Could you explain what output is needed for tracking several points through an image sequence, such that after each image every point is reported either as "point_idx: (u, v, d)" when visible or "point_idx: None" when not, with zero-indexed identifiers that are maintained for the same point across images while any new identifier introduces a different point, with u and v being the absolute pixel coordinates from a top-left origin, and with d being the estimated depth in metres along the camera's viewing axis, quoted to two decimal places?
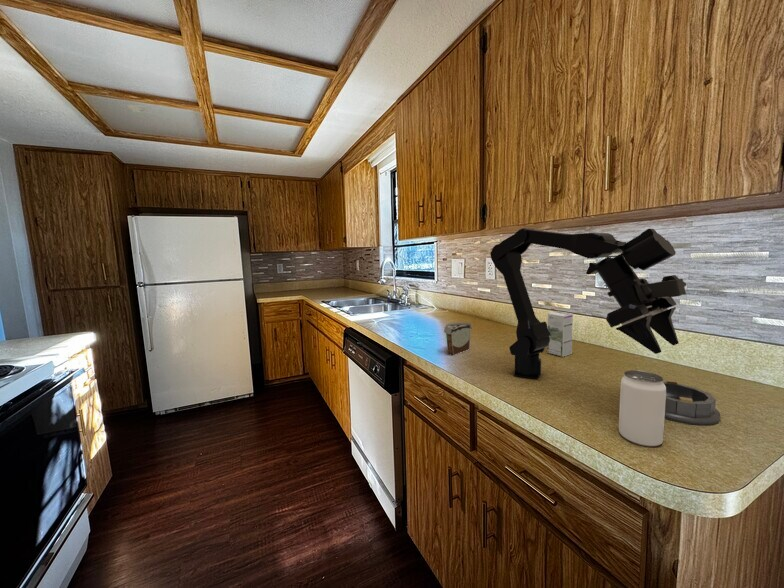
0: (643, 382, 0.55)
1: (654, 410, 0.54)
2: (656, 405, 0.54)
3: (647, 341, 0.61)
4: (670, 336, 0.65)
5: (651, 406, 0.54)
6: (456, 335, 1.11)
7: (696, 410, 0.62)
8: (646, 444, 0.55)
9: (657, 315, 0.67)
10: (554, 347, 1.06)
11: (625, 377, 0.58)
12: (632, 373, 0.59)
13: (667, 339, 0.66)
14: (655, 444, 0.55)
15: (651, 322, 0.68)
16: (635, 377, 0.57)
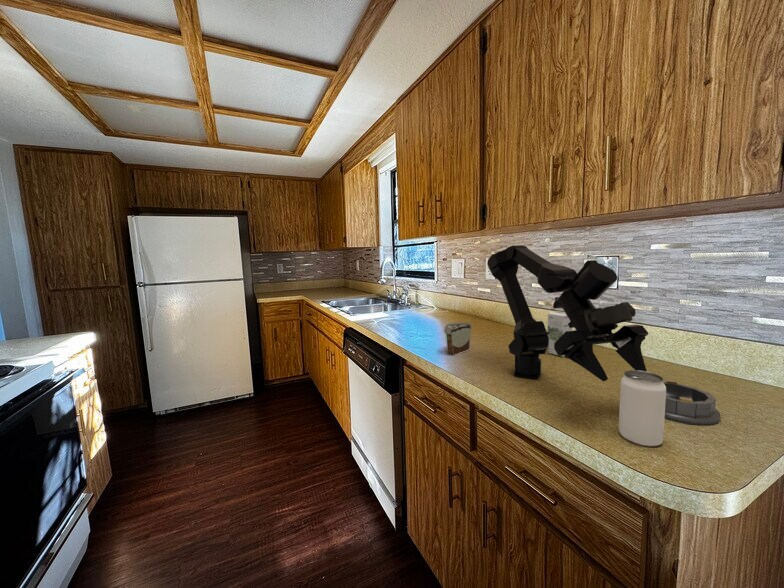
0: (643, 382, 0.55)
1: (654, 410, 0.54)
2: (656, 405, 0.54)
3: (593, 368, 0.61)
4: (638, 366, 0.62)
5: (651, 406, 0.54)
6: (456, 335, 1.11)
7: (696, 410, 0.62)
8: (646, 444, 0.55)
9: (625, 345, 0.65)
10: None
11: (625, 377, 0.58)
12: (632, 373, 0.59)
13: (636, 369, 0.62)
14: (655, 444, 0.55)
15: (622, 353, 0.66)
16: (635, 377, 0.57)
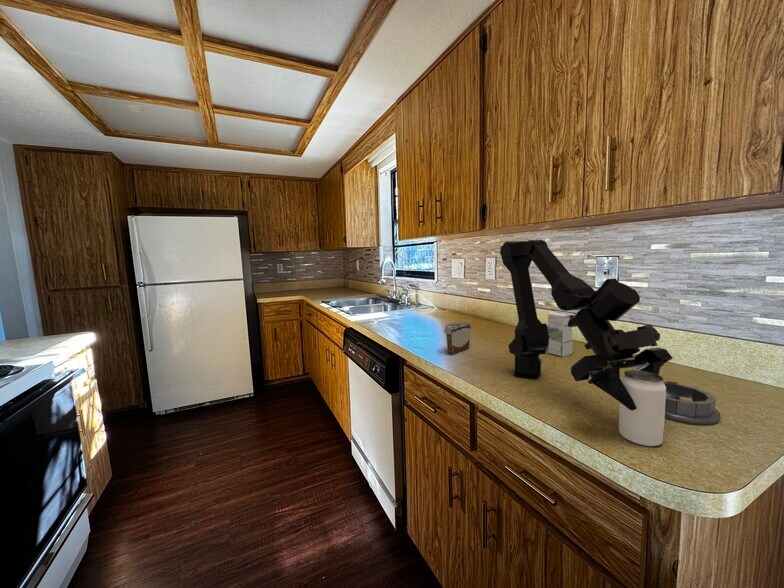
0: (643, 382, 0.55)
1: (654, 410, 0.54)
2: (657, 405, 0.54)
3: (620, 396, 0.57)
4: None
5: (651, 406, 0.54)
6: (456, 335, 1.11)
7: (696, 410, 0.62)
8: (646, 444, 0.55)
9: None
10: (554, 347, 1.06)
11: (625, 377, 0.58)
12: (632, 373, 0.59)
13: None
14: (655, 444, 0.55)
15: None
16: (635, 377, 0.57)
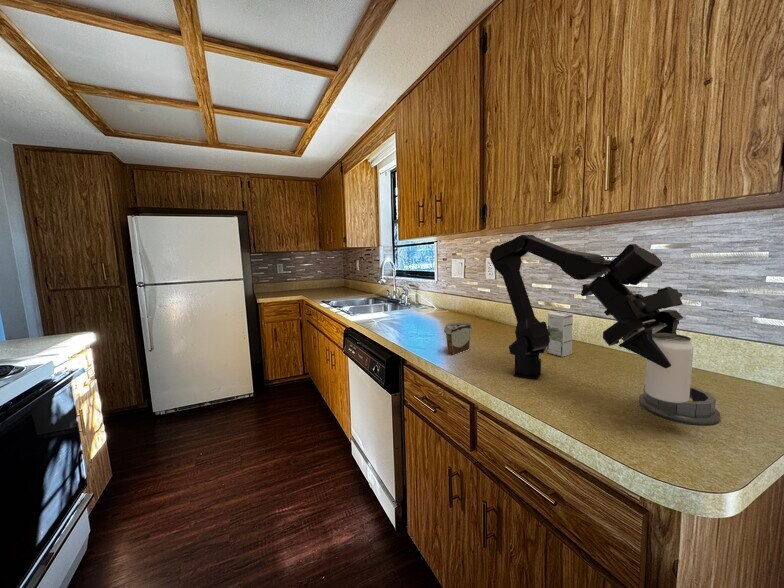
0: (676, 342, 0.57)
1: (686, 367, 0.56)
2: (688, 362, 0.56)
3: (653, 355, 0.58)
4: None
5: (684, 364, 0.56)
6: (456, 335, 1.11)
7: (696, 410, 0.62)
8: (678, 401, 0.57)
9: (660, 332, 0.64)
10: (554, 347, 1.06)
11: (655, 339, 0.59)
12: (658, 336, 0.61)
13: None
14: (686, 400, 0.57)
15: None
16: (664, 338, 0.59)
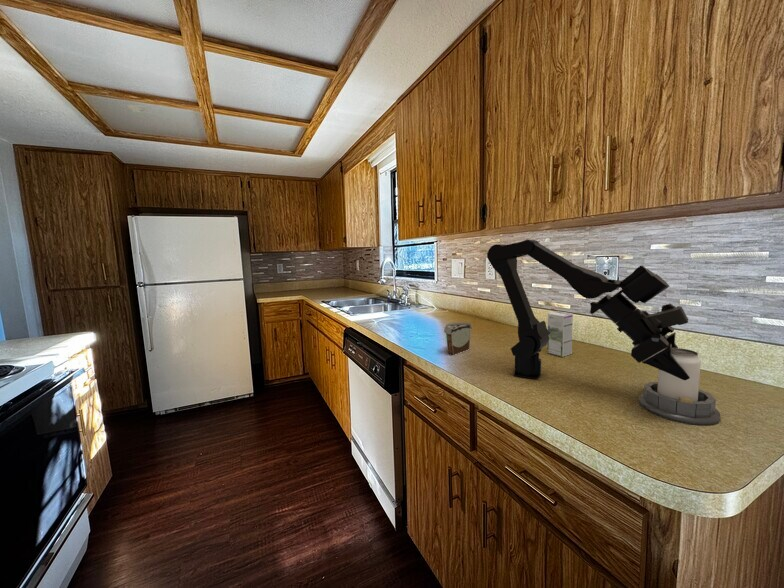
0: (690, 356, 0.64)
1: (698, 379, 0.64)
2: (699, 374, 0.64)
3: (674, 369, 0.63)
4: None
5: (697, 376, 0.64)
6: (456, 335, 1.11)
7: (696, 410, 0.62)
8: None
9: None
10: (554, 347, 1.06)
11: None
12: None
13: None
14: None
15: None
16: (676, 353, 0.66)
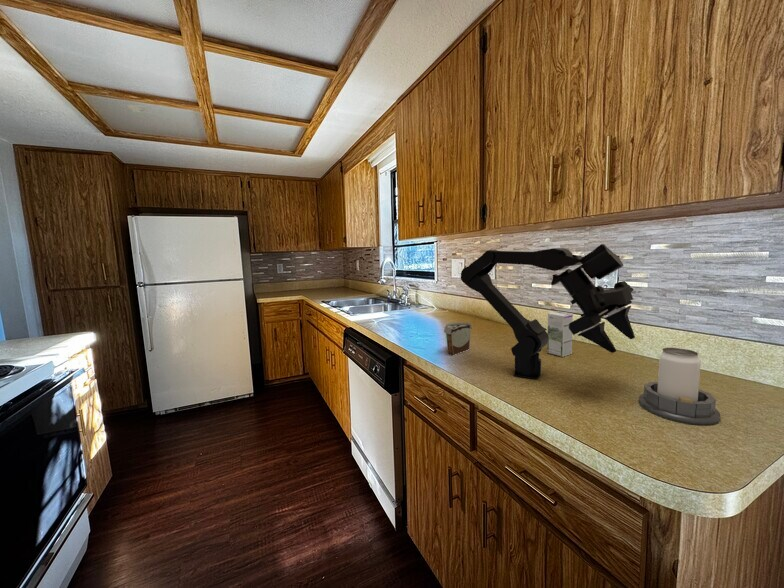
0: (690, 356, 0.64)
1: (698, 379, 0.64)
2: (699, 374, 0.64)
3: (604, 343, 0.72)
4: (627, 332, 0.76)
5: (697, 376, 0.64)
6: (456, 335, 1.11)
7: (696, 410, 0.62)
8: None
9: (615, 314, 0.78)
10: (554, 347, 1.06)
11: (670, 355, 0.66)
12: (668, 351, 0.67)
13: (625, 334, 0.76)
14: None
15: (612, 320, 0.79)
16: (677, 353, 0.66)
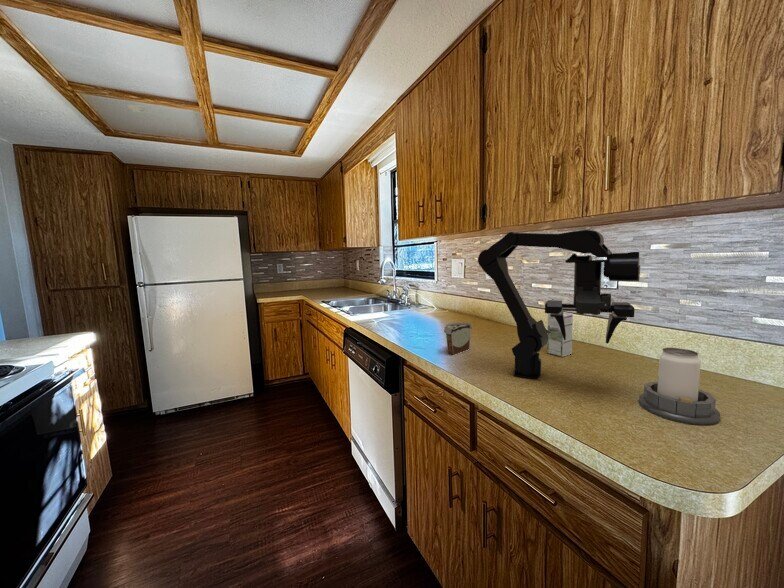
0: (690, 356, 0.64)
1: (698, 379, 0.64)
2: (699, 374, 0.64)
3: None
4: (606, 335, 0.77)
5: (697, 376, 0.64)
6: (456, 335, 1.11)
7: (696, 410, 0.62)
8: None
9: (610, 317, 0.76)
10: (554, 347, 1.06)
11: (670, 355, 0.66)
12: (668, 351, 0.67)
13: None
14: None
15: (609, 319, 0.78)
16: (677, 353, 0.66)
